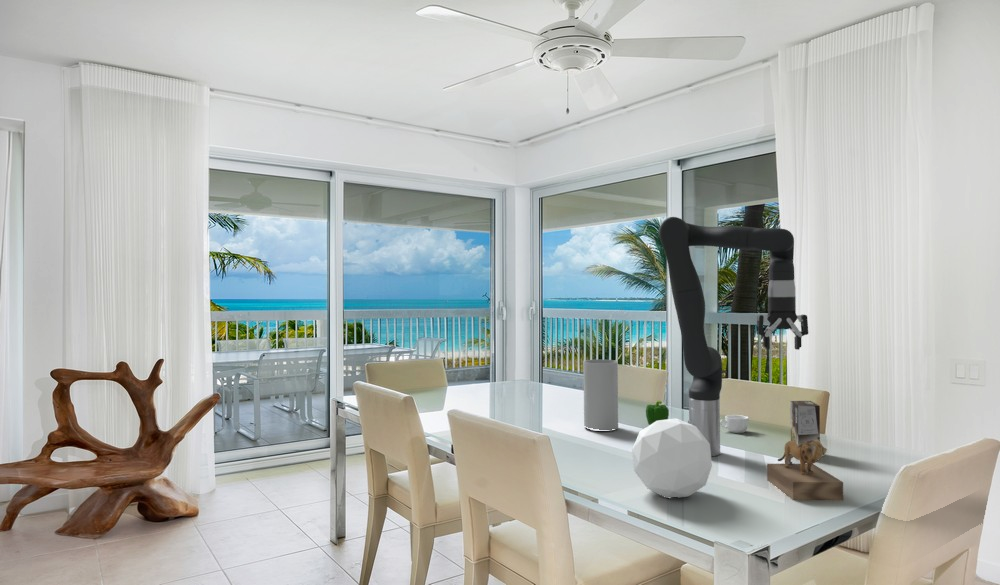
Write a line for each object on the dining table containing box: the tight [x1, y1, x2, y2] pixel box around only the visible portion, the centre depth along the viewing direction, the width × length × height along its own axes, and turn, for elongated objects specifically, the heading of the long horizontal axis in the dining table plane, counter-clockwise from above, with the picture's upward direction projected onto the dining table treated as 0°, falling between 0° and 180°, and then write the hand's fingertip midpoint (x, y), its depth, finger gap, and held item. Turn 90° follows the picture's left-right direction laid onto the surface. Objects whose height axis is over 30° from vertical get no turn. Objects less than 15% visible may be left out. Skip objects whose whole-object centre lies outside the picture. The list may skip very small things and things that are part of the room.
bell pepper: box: [645, 400, 670, 426], centre depth 234 cm, size 8×8×10 cm
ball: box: [631, 417, 713, 498], centre depth 157 cm, size 19×20×20 cm
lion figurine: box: [777, 440, 828, 475], centre depth 162 cm, size 15×5×9 cm, turn 20°
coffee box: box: [789, 400, 821, 446], centre depth 192 cm, size 9×6×16 cm
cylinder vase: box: [582, 359, 619, 430], centre depth 231 cm, size 12×12×25 cm
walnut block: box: [766, 463, 844, 502], centre depth 159 cm, size 12×16×5 cm
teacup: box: [720, 414, 749, 434], centre depth 223 cm, size 10×8×5 cm
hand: (782, 349), depth 188 cm, fingers open, 8 cm apart
